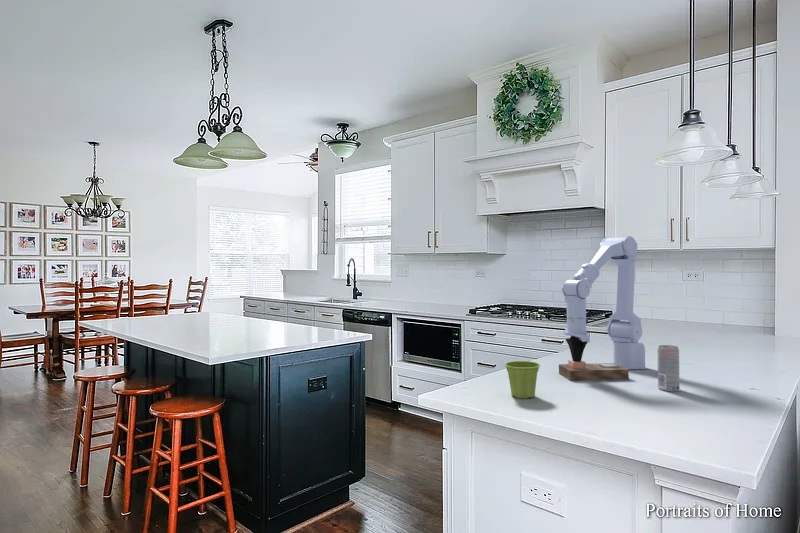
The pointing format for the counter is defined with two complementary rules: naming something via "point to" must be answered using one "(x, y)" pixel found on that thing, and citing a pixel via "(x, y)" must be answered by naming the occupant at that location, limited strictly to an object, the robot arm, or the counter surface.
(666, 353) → the energy drink
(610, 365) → the white marbled block
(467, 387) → the counter surface
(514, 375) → the plant pot
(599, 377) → the button panel
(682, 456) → the counter surface
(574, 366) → the terracotta button
